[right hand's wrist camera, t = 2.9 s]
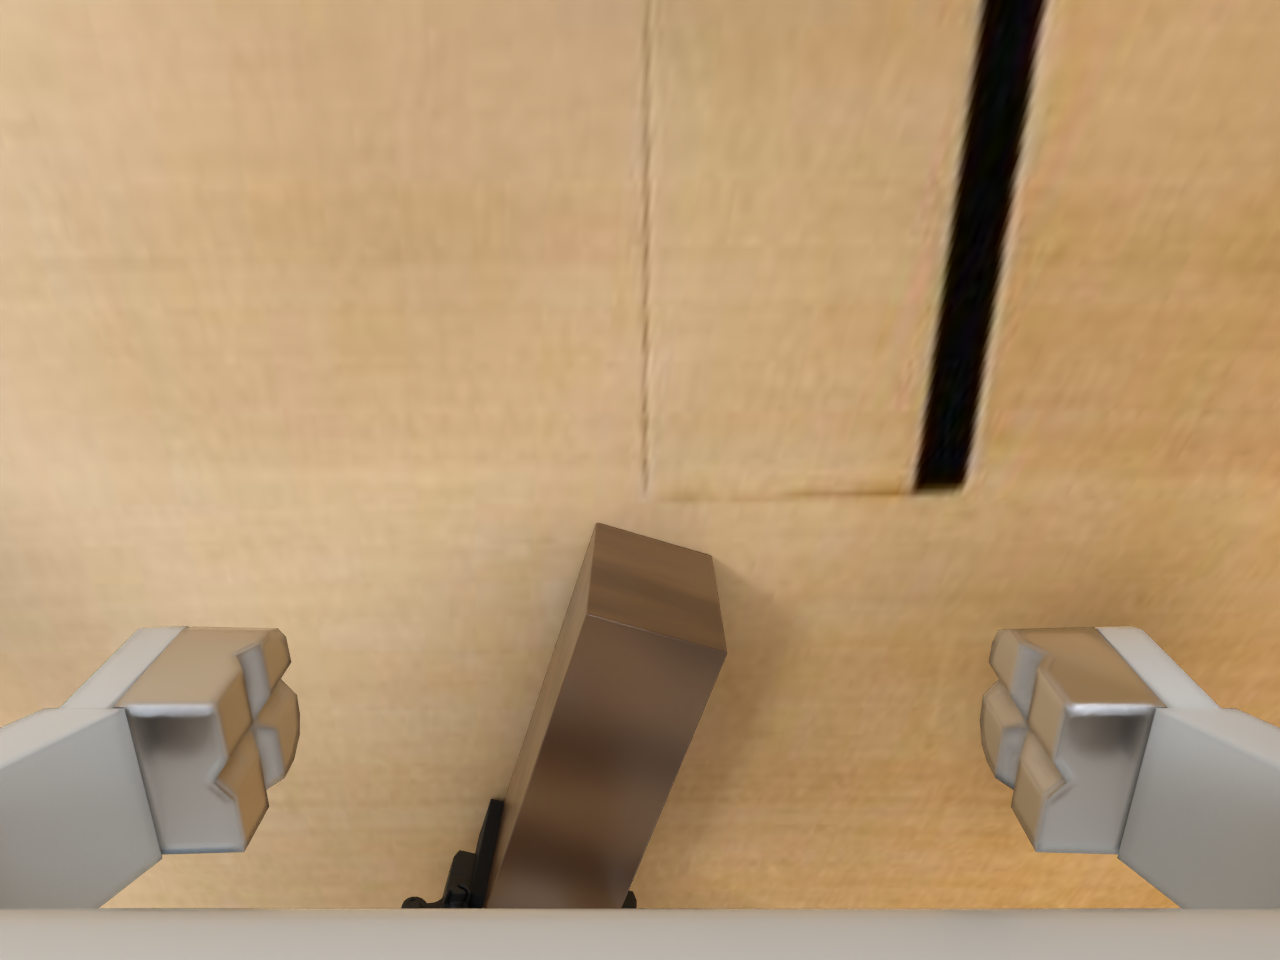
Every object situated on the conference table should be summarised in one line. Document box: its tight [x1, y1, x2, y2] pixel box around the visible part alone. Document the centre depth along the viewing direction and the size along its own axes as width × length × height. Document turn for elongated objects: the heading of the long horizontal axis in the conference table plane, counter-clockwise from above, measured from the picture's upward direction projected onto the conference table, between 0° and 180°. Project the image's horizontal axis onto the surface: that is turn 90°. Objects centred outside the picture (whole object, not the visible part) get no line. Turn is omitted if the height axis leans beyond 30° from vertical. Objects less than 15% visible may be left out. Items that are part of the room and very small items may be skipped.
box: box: [481, 523, 727, 909], centre depth 44 cm, size 22×6×9 cm, turn 162°
